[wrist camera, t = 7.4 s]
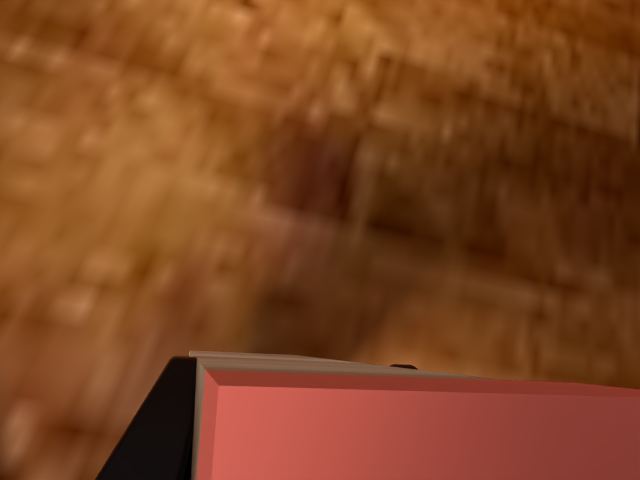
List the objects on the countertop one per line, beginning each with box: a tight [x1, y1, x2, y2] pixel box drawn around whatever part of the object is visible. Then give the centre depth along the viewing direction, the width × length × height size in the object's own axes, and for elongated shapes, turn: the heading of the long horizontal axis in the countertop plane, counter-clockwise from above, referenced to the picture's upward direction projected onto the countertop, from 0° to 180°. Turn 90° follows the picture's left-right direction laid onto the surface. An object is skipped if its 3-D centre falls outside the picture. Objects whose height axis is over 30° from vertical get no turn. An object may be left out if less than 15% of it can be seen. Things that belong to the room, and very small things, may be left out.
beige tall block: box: [188, 351, 640, 480], centre depth 10 cm, size 3×3×14 cm
